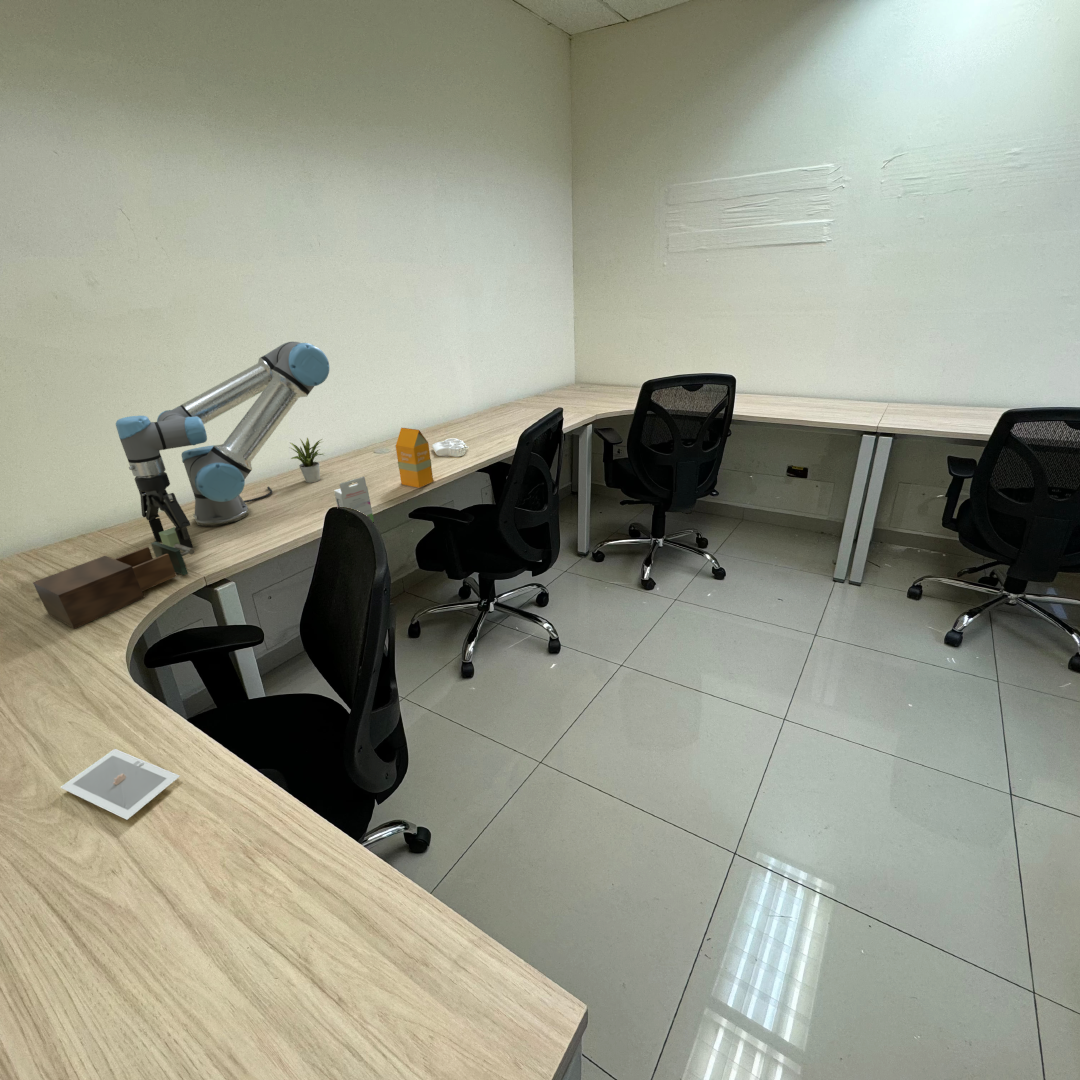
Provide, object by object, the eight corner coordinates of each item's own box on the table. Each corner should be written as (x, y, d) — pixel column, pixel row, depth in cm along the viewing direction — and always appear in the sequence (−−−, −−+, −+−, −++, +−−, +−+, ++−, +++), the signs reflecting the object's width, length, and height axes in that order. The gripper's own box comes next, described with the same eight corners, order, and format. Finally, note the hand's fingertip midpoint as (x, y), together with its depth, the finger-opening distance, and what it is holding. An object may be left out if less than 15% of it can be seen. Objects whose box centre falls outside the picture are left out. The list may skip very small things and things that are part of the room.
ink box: (366, 517, 172) (358, 472, 166) (374, 521, 169) (366, 476, 163) (340, 526, 167) (330, 480, 161) (348, 530, 164) (338, 483, 157)
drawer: (180, 557, 149) (172, 535, 146) (204, 566, 144) (196, 543, 141) (107, 587, 135) (97, 563, 132) (131, 598, 130) (121, 573, 127)
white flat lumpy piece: (431, 448, 243) (464, 444, 247) (437, 459, 227) (472, 454, 231) (430, 440, 241) (463, 436, 245) (436, 451, 226) (471, 446, 230)
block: (178, 540, 162) (174, 526, 160) (187, 543, 160) (182, 529, 158) (163, 546, 159) (158, 532, 157) (172, 549, 157) (167, 535, 155)
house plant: (339, 481, 206) (330, 438, 199) (300, 489, 199) (290, 445, 192) (328, 472, 217) (320, 431, 210) (291, 480, 210) (281, 437, 203)
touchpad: (129, 825, 75) (124, 814, 74) (62, 792, 81) (56, 782, 80) (182, 781, 82) (178, 770, 81) (117, 753, 87) (112, 743, 86)
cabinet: (117, 586, 138) (105, 555, 134) (144, 597, 132) (131, 566, 128) (48, 614, 127) (32, 582, 123) (74, 629, 121) (58, 595, 117)
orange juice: (419, 488, 196) (411, 432, 187) (401, 484, 200) (392, 429, 192) (433, 481, 202) (426, 427, 193) (416, 478, 206) (408, 424, 197)
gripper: (111, 472, 153) (137, 541, 162) (160, 484, 141) (185, 558, 150) (140, 464, 159) (163, 531, 168) (190, 476, 147) (212, 547, 156)
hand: (174, 544), depth 159 cm, fingers open, 13 cm apart
